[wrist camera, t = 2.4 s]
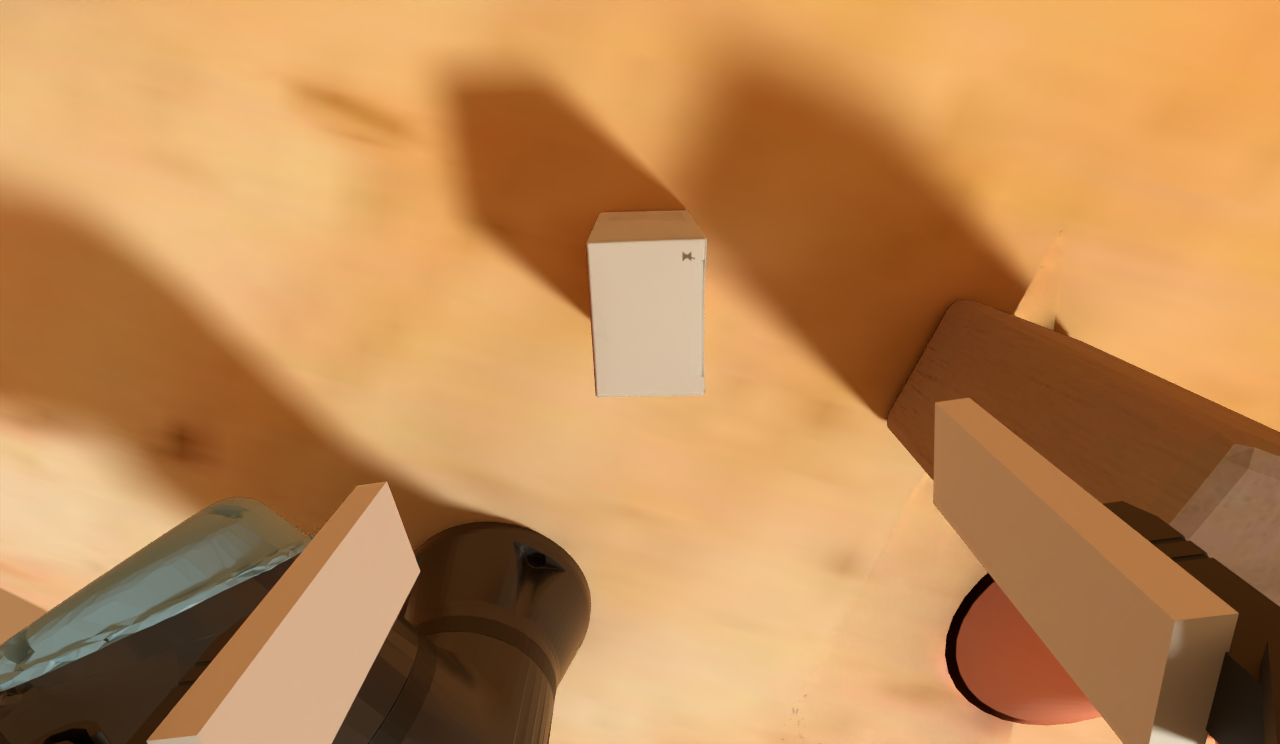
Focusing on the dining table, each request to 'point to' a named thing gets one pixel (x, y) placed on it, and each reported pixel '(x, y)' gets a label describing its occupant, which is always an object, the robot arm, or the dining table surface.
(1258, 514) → the block
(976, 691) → the ceramic vessels
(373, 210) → the dining table surface
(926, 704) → the dining table surface
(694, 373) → the small box
